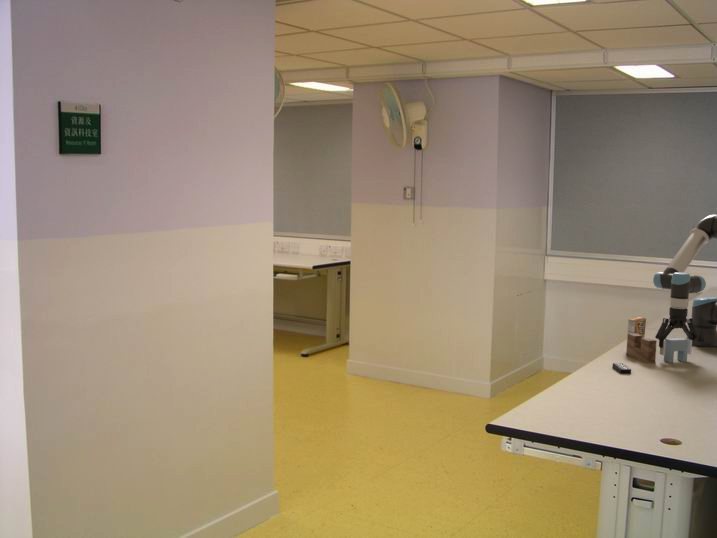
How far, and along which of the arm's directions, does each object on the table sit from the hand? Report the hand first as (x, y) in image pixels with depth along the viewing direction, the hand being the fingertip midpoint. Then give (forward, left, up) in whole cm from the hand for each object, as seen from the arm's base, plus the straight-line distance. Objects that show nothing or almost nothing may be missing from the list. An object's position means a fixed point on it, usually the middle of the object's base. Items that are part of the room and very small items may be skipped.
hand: (675, 354), depth 355 cm
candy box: (+5, -23, -3) cm, 24 cm away
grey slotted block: (0, 0, -3) cm, 3 cm away
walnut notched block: (+13, -7, -3) cm, 15 cm away
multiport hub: (+34, +10, -4) cm, 36 cm away
